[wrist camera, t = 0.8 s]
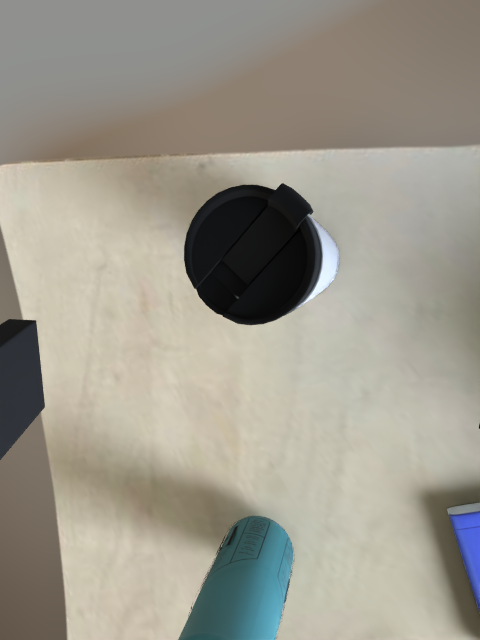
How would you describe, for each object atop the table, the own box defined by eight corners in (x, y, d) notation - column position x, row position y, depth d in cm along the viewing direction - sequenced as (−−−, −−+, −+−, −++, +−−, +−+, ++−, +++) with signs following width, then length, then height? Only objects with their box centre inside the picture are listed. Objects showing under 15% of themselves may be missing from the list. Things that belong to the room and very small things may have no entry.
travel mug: (358, 255, 37) (355, 245, 18) (303, 312, 39) (246, 358, 20) (303, 204, 38) (244, 143, 19) (251, 262, 40) (148, 261, 21)
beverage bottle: (244, 492, 43) (147, 680, 23) (310, 525, 41) (265, 752, 22) (220, 549, 44) (111, 770, 25) (284, 582, 43) (220, 843, 23)
